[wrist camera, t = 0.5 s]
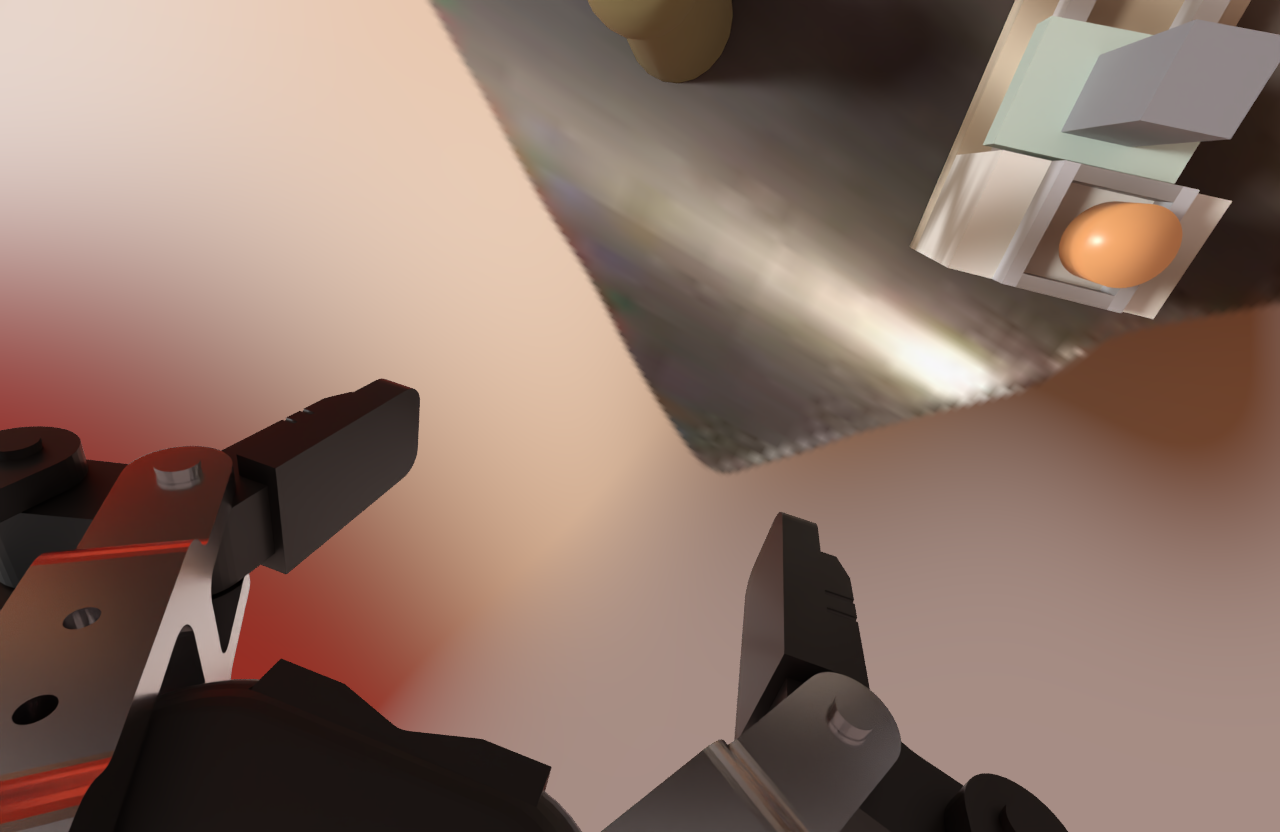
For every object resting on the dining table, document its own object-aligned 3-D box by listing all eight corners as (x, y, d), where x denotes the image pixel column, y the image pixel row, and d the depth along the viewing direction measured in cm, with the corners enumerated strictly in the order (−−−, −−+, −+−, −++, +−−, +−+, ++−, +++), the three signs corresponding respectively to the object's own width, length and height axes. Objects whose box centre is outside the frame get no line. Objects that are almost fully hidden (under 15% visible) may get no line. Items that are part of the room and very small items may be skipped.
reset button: (1085, 193, 21) (1113, 195, 19) (1166, 211, 21) (1202, 215, 19) (1043, 268, 22) (1066, 276, 21) (1118, 287, 22) (1148, 297, 20)
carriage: (1037, 24, 24) (1135, -33, 18) (1226, 61, 23) (1406, 16, 17) (982, 145, 26) (1051, 135, 20) (1153, 183, 26) (1286, 186, 19)
